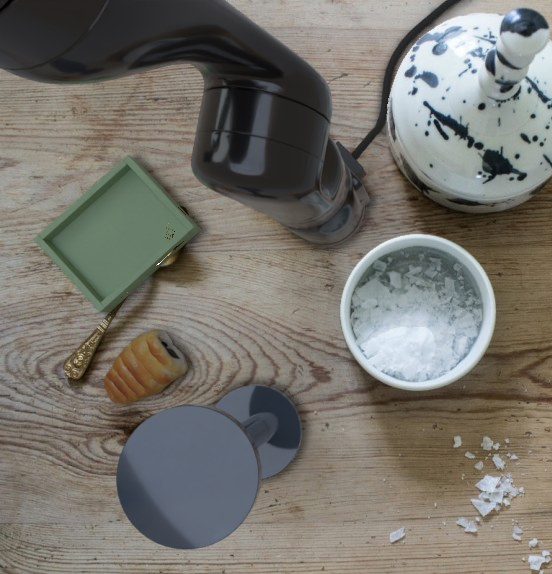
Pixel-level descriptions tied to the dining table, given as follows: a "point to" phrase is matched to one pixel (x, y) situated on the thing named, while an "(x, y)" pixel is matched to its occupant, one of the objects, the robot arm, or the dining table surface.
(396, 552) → the dining table surface
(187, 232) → the tray
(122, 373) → the pastry
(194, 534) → the stand
